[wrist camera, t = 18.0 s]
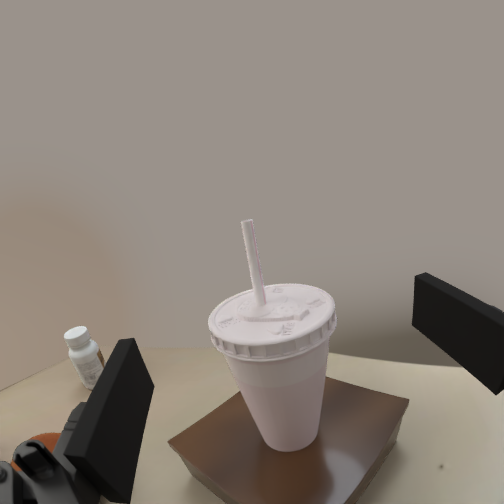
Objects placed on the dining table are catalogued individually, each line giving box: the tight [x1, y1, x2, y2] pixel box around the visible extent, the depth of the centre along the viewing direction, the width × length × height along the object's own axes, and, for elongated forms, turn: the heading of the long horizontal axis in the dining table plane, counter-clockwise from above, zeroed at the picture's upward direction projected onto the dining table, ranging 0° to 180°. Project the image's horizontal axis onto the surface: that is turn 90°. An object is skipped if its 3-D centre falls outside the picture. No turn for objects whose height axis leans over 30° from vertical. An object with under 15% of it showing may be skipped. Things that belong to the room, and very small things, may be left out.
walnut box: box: [168, 376, 409, 504], centre depth 17 cm, size 12×12×5 cm
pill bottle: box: [64, 326, 106, 390], centre depth 31 cm, size 4×4×8 cm
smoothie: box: [208, 219, 337, 452], centre depth 15 cm, size 6×6×14 cm
